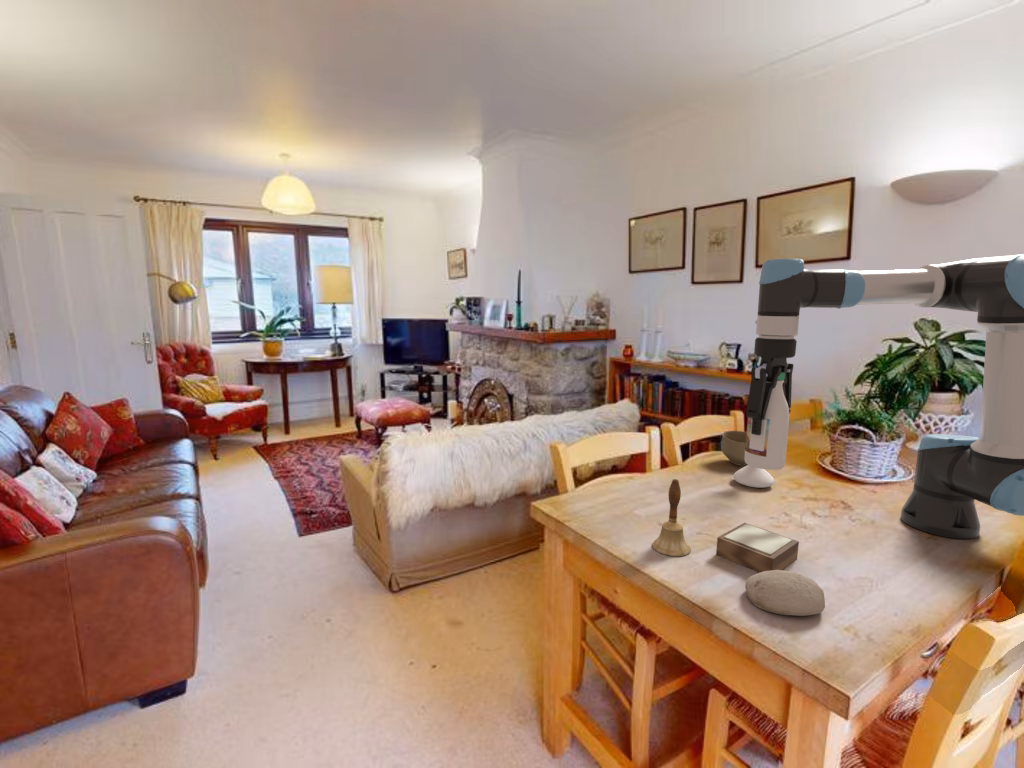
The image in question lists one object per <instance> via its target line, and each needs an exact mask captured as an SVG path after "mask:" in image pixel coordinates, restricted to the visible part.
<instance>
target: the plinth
mask: <svg viewBox="0 0 1024 768" xmlns="http://www.w3.org/2000/svg"><path fill="white" fill-rule="evenodd" d="M799 546H800V542H799V541H798V540H796V539H792V538H790V537H787V536H784V535H781V534H779V533H775V532H773V531H770V530H767V529H765V528H761V527H758V526H755V525H752V524H750V523H746V522H743V523H741V524H739V525H738V526H736V527H734V528H732V529H730V530H728V531H727V532H724V533H723V534H720V535H718V537H717V539H716V555H717V556H719V557H722V558H723V559H724V558H725V559H726V560H729V561H731V562H733V563H735V564H738V565H741V566H743V567H746V568H748V569H750V570H753V571H755V572H758V573H760V572H763V571H771V570H784V569H785V568H786V567H788V566H790V565H791V564H792V563H793V562H794V561H796V560H797V559H798V553H799Z"/></svg>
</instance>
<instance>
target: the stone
mask: <svg viewBox="0 0 1024 768" xmlns="http://www.w3.org/2000/svg"><path fill="white" fill-rule="evenodd" d="M745 591H746V595H747V598H748V600H750V602H752V604H753V605H755V606H756V607H757V608H759V609H761V610H763V611H766V612H770V613H773V614H778V615H784V616H800V617H806V616H812V615H819V614H821V613H823V611H824V609H825V608H826V601H825V600H826V599H825V592H824V590H823V588H822V587H821V586H820V585H819V584H818V583H817V582H816V581H815V580H814V579H812V577H808V576H805V575H803V574H801V573H797V572H794V571H789V570H784V569H782V570H771V571H763V572H758V573H757V572H756V573H755V574H752V575H751V576H749V577H748V578H747V579H746V581H745Z"/></svg>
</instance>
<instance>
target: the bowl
mask: <svg viewBox="0 0 1024 768" xmlns="http://www.w3.org/2000/svg"><path fill="white" fill-rule="evenodd" d="M721 433H722V434H721V436H722V437H721V440H722V441H721V444H720V445H721V446H720V449H721V452H722V454H723V455H724V456H725V457H726V458H727V459H728V460H729V461H730V463H732V464H733V465H736V466H747V464H746V463H745V460H744V458H745V445H746V433H747V431H742V430H741V431H740V430H727V431H723V432H721Z"/></svg>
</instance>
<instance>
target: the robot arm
mask: <svg viewBox="0 0 1024 768" xmlns="http://www.w3.org/2000/svg"><path fill="white" fill-rule="evenodd" d="M758 284H759V290H758V291H759V292H758V302H757V304H758V305H757V318H756V320H755V321H754V323H755V324H756V328H755V329H756V330H755V331H756V332H755V334H756V335H757V336H758V337H756V338H755V340H754V348H753V349H754V350H753V353H754V355H755V356H756V357H760V361H759V365H758V367H754V366H753V367H751V370H750V371H751V373H750V374H751V379H750V380H751V381H750V387H749V392H748V398H747V399H748V400H747V404H746V405H747V407H746V412H745V416H746V417H747V418H748V417H749V418H752V422H751V434H750V445H749V448H750V449H755V450H759V451H764V446H765V435H766V424H767V419H764V418H765V415H766V411H767V407H768V404H769V400H770V396H771V392H772V389H773V388H775V387H776V384H777V380H778V376H779V375H780V374H781V372H784V373H785V378H784V383H783V385H782V387H783V393H784V396H785V399H786V401H787V404H788V407H789V415H790V414H791V411H792V410H791V408H792V386H793V385H792V381H793V378H792V377H793V371H794V363H789V362H788V361H787V359H791V358H794V357H795V356H796V350H797V339H796V338H794V337H797V336H798V334H799V324H800V323H799V322H800V312H801V311H800V310H801V308H816V309H819V308H821V309H823V308H825V309H827V308H828V309H833V308H834V309H835V308H836V309H841V308H844V309H845V308H853V307H855V306H857V305H858V306H860V305H898V304H899V305H901V304H905V305H906V304H908V305H909V304H914V305H915V306H917V307H919V308H939V309H948V310H957V311H964V312H966V311H967V312H976V313H977V318H976V321H977V324H978V325H979V326H980V327H982V328H983V329H984V330H985V331H986V334H985V347H984V349H985V350H984V351H985V353H984V365H983V366H984V367H983V379H982V380H983V382H982V384H983V385H982V400H981V416H980V417H981V418H980V431H979V432H980V434H979V437H977V436H970V435H959V434H950V433H949V434H946V433H942V434H941V433H934V434H926V435H924V436H922V437H921V438H920V442H919V446H918V448H917V456H916V463H915V466H916V467H915V471H914V474H915V475H914V482H913V487H912V491H911V493H910V495H909V496H908V498H907V500H906V501H905V503H904V504H903V506H902V507H901V511H900V519H901V521H902V522H903V523H905V524H906V525H908V526H910V527H912V528H914V529H916V530H919V531H921V532H925V533H928V534H930V535H935V536H939V537H945V538H949V539H950V538H951V539H959V540H969V539H970V540H972V539H975V538H978V537H979V536H980V531H981V524H980V523H981V522H980V520H979V515H978V512H977V507H976V503H975V501H976V502H977V501H978V502H980V503H982V504H985V505H987V506H989V507H992V508H993V509H994V510H997V511H999V512H1005V513H1007V514H1011V515H1012V516H1013V515H1014V516H1019V517H1021V516H1022V517H1023V516H1024V253H1022V254H1014V255H1013V254H1012V255H1002V256H990V257H989V256H988V257H977V258H971V259H965V260H958V261H952V262H946V263H939V264H938V263H937V264H925V265H922V266H920V267H919V268H917V269H894V270H892V269H891V270H889V269H888V270H886V269H885V270H853V269H852V270H851V269H849V270H848V269H845V268H843V269H806V267H805V261H804V260H803V259H802V258H794V257H793V258H772V259H767V260H765V261H764V262H763V264H762V266H761V270H760V278H759V281H758ZM779 381H780V380H779ZM768 382H771V383H768Z"/></svg>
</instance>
